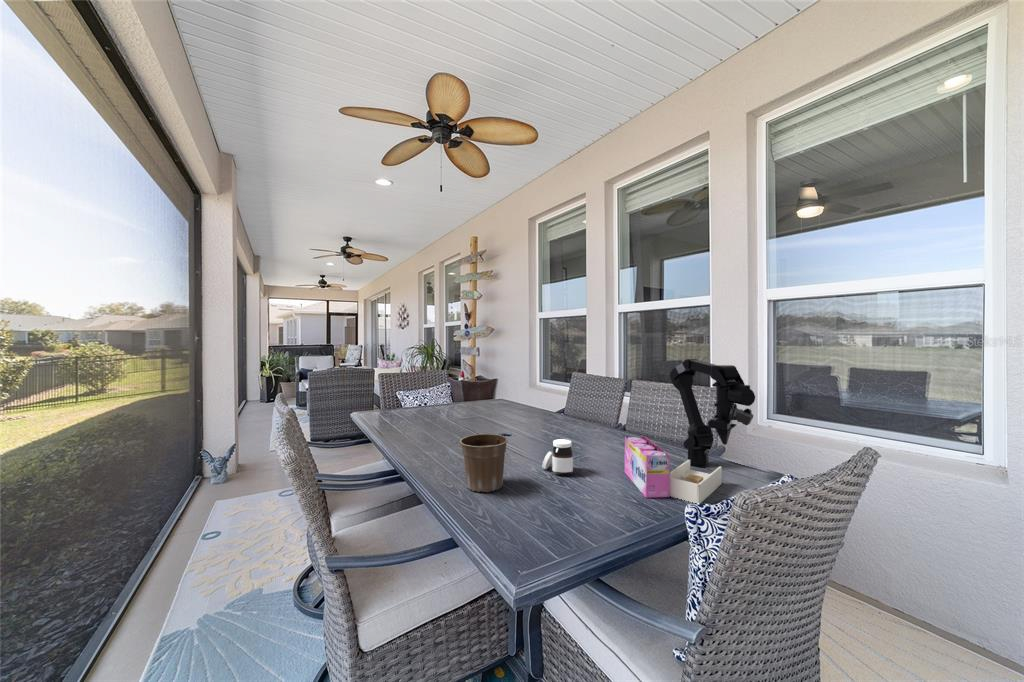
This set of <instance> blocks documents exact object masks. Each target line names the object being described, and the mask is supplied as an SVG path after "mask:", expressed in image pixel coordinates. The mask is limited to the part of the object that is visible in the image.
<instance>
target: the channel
mask: <svg viewBox="0 0 1024 682" xmlns="http://www.w3.org/2000/svg"><path fill="white" fill-rule="evenodd" d="M722 469H723V467H722V466H718V467H717V468H716V469H714V470H713V471H712V472H711V473H707V472H703V471H697V470H693V469H691V465H690V460H688V459H687V460H685V461H684V462H683V463H682V464H680V465H678V466H676V467H675V468H674V469H673V470H670V493H669V497H670V496H671V498H674V499H677V498H678V500H681V499H682V501H684V500H685V501H684V502H688V501H689V502H688V503H692V502H693V504H695V503H700V504H702V503H703V502H704V501H705V500H706V499H707V498H708V497H709V496H710V495H711V494H713V492H714V491H716V490H717V489H718V488H719V487H720V486H721V485H722V477H723V475H722V472H723V471H722ZM689 474H692V475H697V476H701V477H703V480H702V481H701V482H700V483H699V484H696V483H692V482H688V481H686V477H687V476H688V475H689Z"/></svg>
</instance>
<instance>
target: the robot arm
mask: <svg viewBox="0 0 1024 682" xmlns="http://www.w3.org/2000/svg"><path fill="white" fill-rule="evenodd" d="M697 372H698V373H701V374H705V375H708V376H710V378H711V379H712V380H714V381H715V382H713V383H712V385H711V386H712V387H714V388H716V393H715V394H716V397H715V400H716V401H715V402H714V407H715V408H716V409H715V414H714V415H713V416H714V417H713V418H711V419H709V420H708V421H707V425H706V424H705V423H704V421H703V417H702V415H701V412H700V409H699V406H698V404H697V403H698V402H697V400H696V397H695V393H694V390H693V384H694V376H695V375H697ZM669 379H670V381H671V384H672V385H673V387H674V388H676V389H677V390H678V393H679V396H680V398H681V402H682V405H683V408H684V412H685V414H686V417H687V420H688V424H689V427H688V430H687V438H686V439H685V440H684V441H683V446H684V449H687V460H690V466H694V467H698V468H702V469H703V468H705V467H706V466H708V465H709V464H710V463H709V462H710V461H709V458H710V457H709V453H708V450H712V447H713V443H714V439H715V438H714V433H713V432H712V429H715V432H716V433H717V434H718V437H719V440H720V441H721V444H722V445H727V444H728V442H729V437H730V434H731V431H732V429H734V428H735V427H737V424H736V423H733V421H737V422H738V423H742V425H743V426H749V425H750V424H751V423H752V420H753V419H754V414H753V413H752V409H751V408H747V407H749V406H750V407H751V406H752V405H753V404H754V403H755V400H756V395H755V392H754V391H753V390H752V389H751V385H750V384H749V385H748V384H745V382H744V380H743V378H742V376H741V374H740V373H739V370H738V369H737V367H736V366H735V365H732V364H726V365H725V364H724V365H723V364H721V365H720V364H714V363H709V362H708V361H707V362H706V361H703V360H699V359H697V358H686V359H685V360H683V362H681V363H680V364H678V365H676V366H675V367H673V369H671V371H670V372H669ZM738 405H742V406H745V407H746V408H745V409H743V408H741V409H740V408H738Z"/></svg>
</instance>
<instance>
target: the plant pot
mask: <svg viewBox="0 0 1024 682" xmlns="http://www.w3.org/2000/svg"><path fill="white" fill-rule="evenodd" d="M459 443H460V445H461V450H462V454H463V458H464V468H465V469H464V471H465V478H466V479H465V480H466V486H467V487H468V488H469V489H470V490H469V489H468V488H467V489H468V490H469V491H471V490H472V492H474V491H477V492H476V493H480V492H483V493H484V492H486V493H491V492H490V491H493V492H496V491H498V490H500V489H501V488H502V487H503V484H504V482H503V481H504V472H505V471H504V467H505V455H506V452H507V443H508V437H507V436H504V435H503V434H497V433H478V434H471V435H467V436H465V437H463V438H461V439H460V440H459ZM495 490H496V491H495Z"/></svg>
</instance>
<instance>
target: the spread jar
mask: <svg viewBox="0 0 1024 682" xmlns="http://www.w3.org/2000/svg"><path fill="white" fill-rule="evenodd" d="M552 444H553V446H552V449H551V451H548V452H547V453H546V455H545V456H544V459H543V461H542V465H541V468H542V469H544V470H548V468H549V467H550V465H551V471H552V473H553V474H554V475H556V476H559V475H562V477H565V476H564V475H567V476H571V475H572V474H573V473H574V453H573V452H574V451H573V448H572V445H573V444H572V440H570V439H565V438H560V439H559V438H558V439H554V440H553V441H552Z"/></svg>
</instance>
